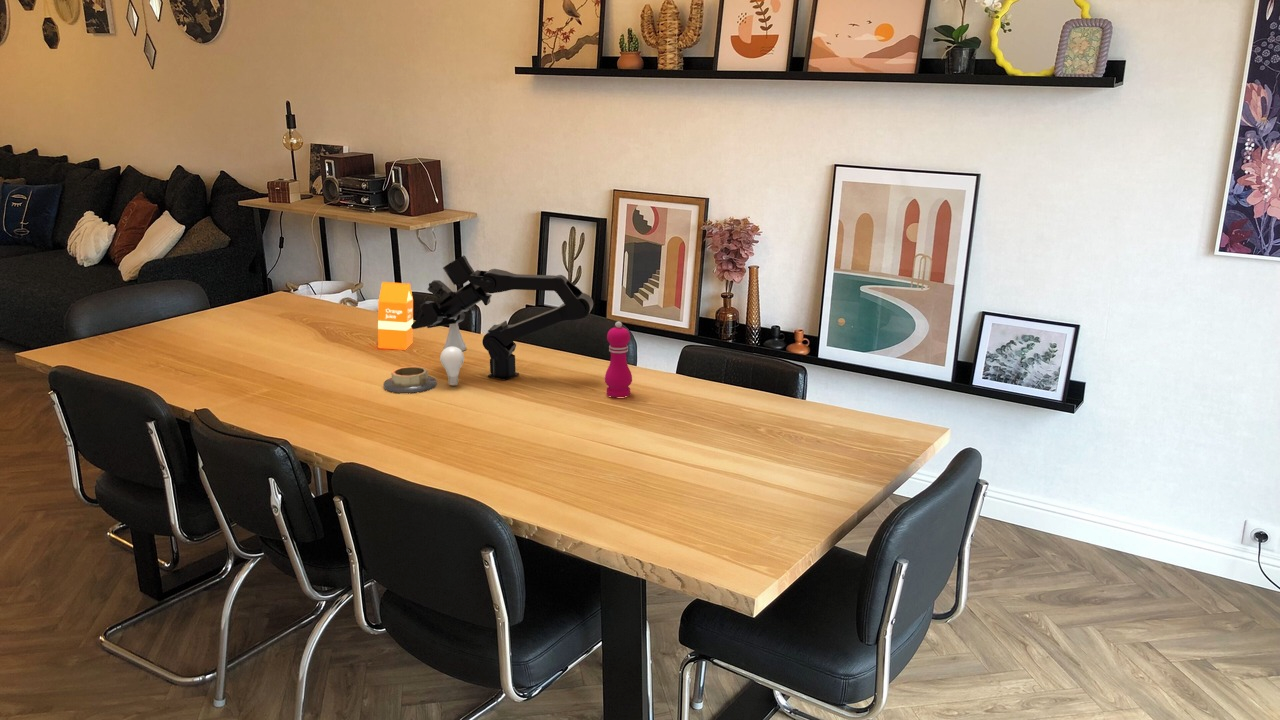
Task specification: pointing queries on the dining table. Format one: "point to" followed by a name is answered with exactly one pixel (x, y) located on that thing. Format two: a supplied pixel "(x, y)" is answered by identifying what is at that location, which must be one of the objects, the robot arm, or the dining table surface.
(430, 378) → the holder
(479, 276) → the robot arm
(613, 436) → the dining table surface
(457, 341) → the flask
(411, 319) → the orange juice
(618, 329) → the pepper mill
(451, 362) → the lightbulb
